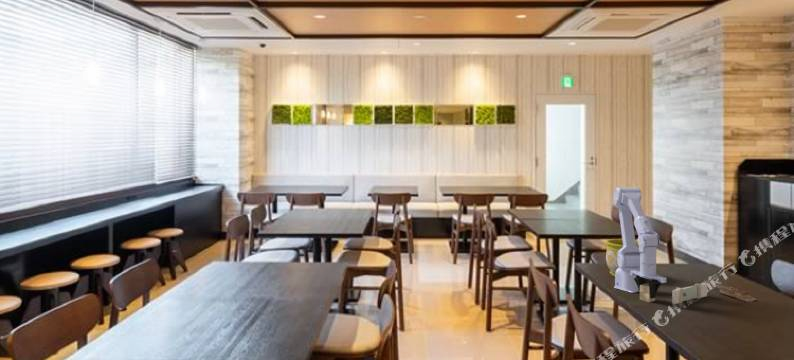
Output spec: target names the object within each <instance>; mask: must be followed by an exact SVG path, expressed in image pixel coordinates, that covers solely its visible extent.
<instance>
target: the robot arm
mask: <svg viewBox="0 0 794 360" xmlns="http://www.w3.org/2000/svg"><path fill="white" fill-rule="evenodd" d="M642 195H643V194H642V190H641V189H640V187H638V186H634V187H619V186H618V187H616V188H615V189H614V192H613V203H614V207H615V208H616V209H618V215H619V222H620V231H621V239H622V240H623V247H622V248H621V249H620V250H619V251H618V252H617V263H618V266H619V268H618V269H617V270H616V273H615V277H614V286H613V288H614V289H618V290H621V291H624V292H628V293H631V294H635V293H637V292H639V294H640V285H642V284H649V287H650V298H651V299H653V298H655V299H656V295H657V292H658V290H659V288H660V286H661V285H662V284H666V283H667V277H666V276H662V275H659V274H657V248H659V246H660V243H661V240H660V235H659V234H658V233H657V232H656V230H654V229H653V228H652V224H651V222H650V220H649V218H647V217H646V216H645V214H644V211H643V208H642V207H643V206H642V204H641V201H642V197H643V196H642ZM632 215H633V216H632ZM633 218H634V219H635V220H634V221H633ZM634 227H635V230H636V232H637V236H638V237H637V240H638V245H639V248H638V247H637V246H636V243H635V240H636V237H635V230H634ZM624 253H633V254H624ZM647 280H648V281H647Z"/></svg>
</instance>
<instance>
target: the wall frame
mask: <svg viewBox="0 0 794 360" xmlns="http://www.w3.org/2000/svg"><path fill="white" fill-rule="evenodd" d="M694 285H696V286H697V298H696V299H701V298H704V297H708V283H706V282H703V283H694ZM694 285H693V286H694ZM682 288H683V287H675V289H672V291H671V294H672V296H671V304H673V305H676V304H683V301H682V293H683V289H682Z"/></svg>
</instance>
